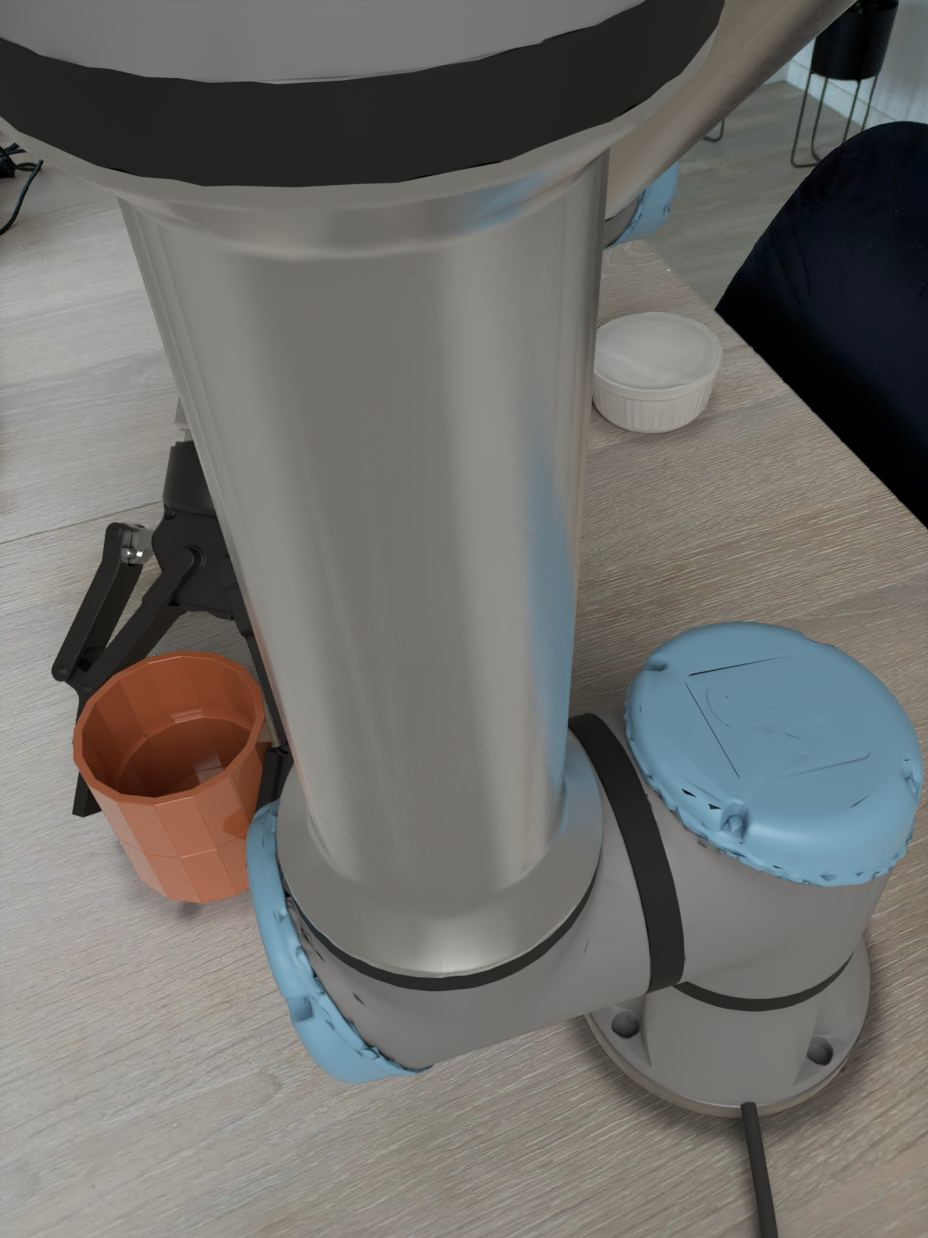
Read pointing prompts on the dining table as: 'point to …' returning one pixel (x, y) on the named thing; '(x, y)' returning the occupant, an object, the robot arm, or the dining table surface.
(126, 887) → the dining table surface
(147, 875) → the orange faceted hollow container
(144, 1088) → the dining table surface
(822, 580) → the dining table surface
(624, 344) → the ramekin
